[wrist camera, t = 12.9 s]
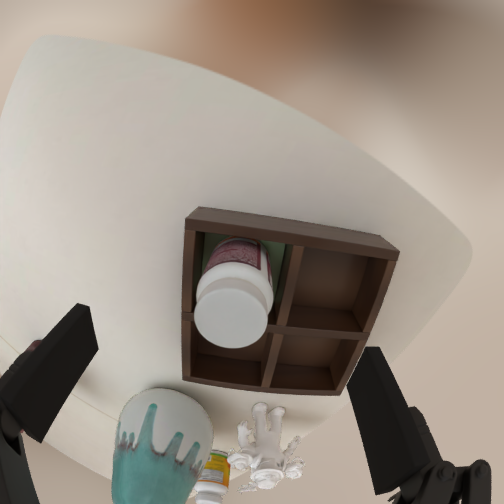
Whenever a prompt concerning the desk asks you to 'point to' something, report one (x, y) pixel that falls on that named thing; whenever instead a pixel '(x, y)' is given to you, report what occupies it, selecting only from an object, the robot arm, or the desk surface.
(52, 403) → the robot arm
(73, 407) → the desk surface
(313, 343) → the holder
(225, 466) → the supplement bottle
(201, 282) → the pill bottle
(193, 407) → the vase
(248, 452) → the flower shoulder figurine
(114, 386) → the desk surface
